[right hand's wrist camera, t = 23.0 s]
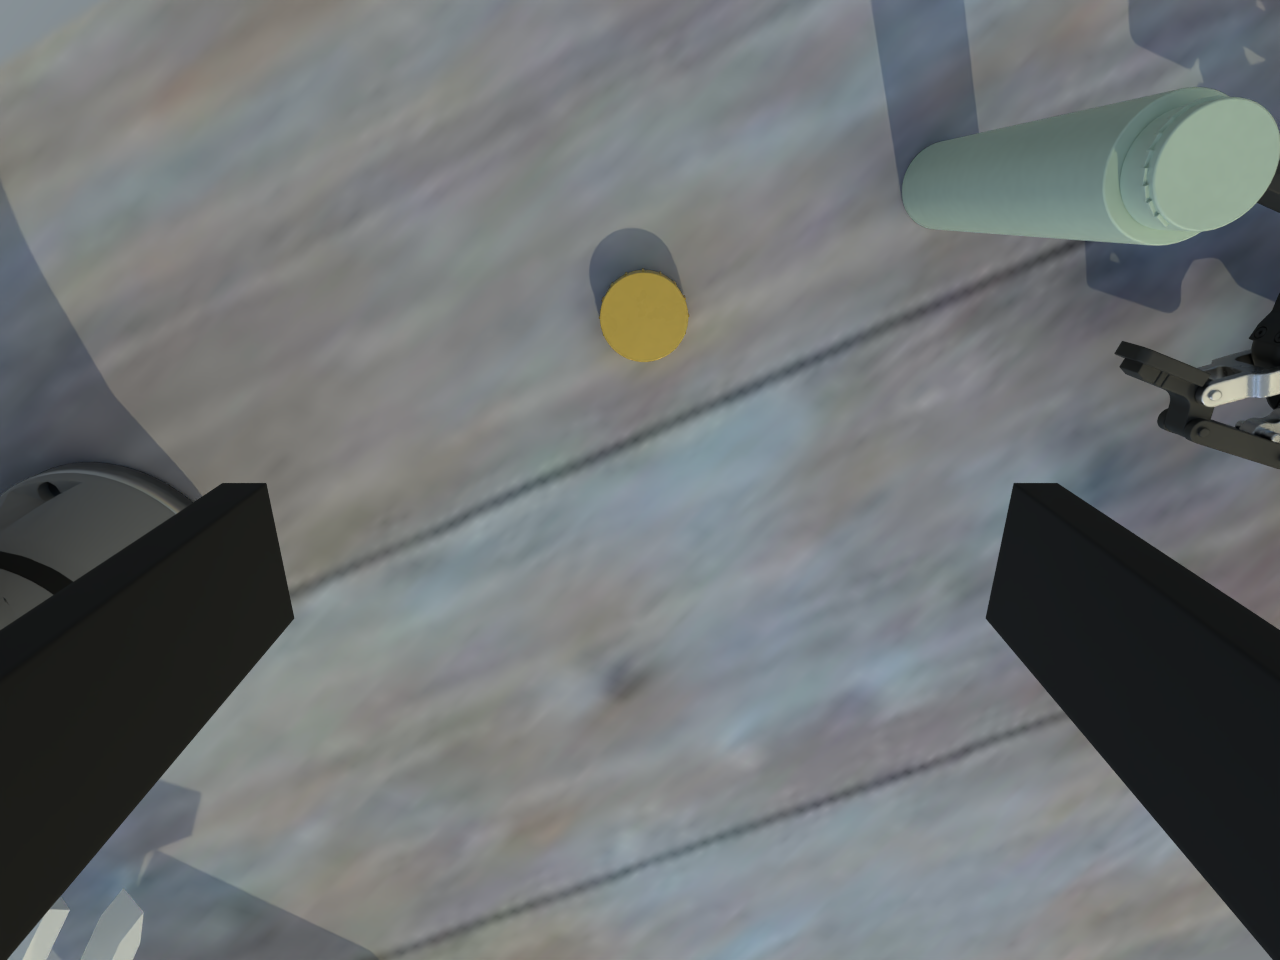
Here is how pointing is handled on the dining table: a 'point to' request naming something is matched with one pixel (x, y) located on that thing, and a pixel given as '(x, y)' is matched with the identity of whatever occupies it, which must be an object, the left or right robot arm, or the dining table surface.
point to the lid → (644, 315)
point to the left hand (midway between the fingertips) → (1180, 266)
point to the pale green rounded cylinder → (1103, 171)
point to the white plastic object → (108, 943)
